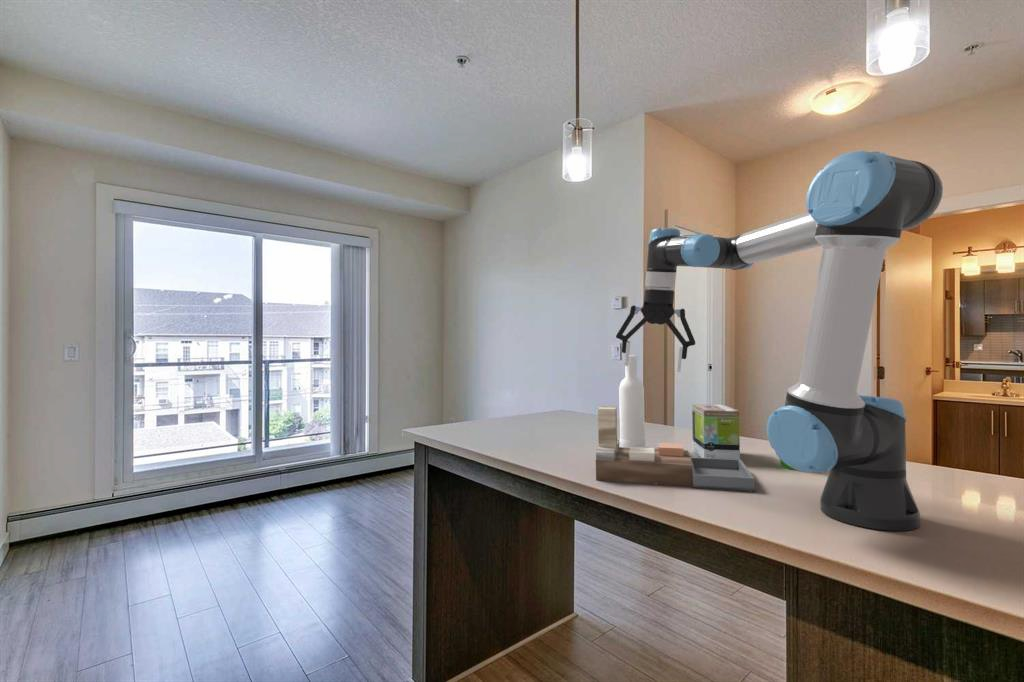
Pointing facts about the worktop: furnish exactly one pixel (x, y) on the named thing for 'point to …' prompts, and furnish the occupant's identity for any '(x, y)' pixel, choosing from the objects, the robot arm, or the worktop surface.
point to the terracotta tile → (670, 449)
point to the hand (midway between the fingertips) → (652, 367)
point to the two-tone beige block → (607, 433)
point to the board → (647, 469)
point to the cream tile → (642, 454)
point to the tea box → (716, 431)
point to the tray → (721, 474)
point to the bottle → (631, 407)
